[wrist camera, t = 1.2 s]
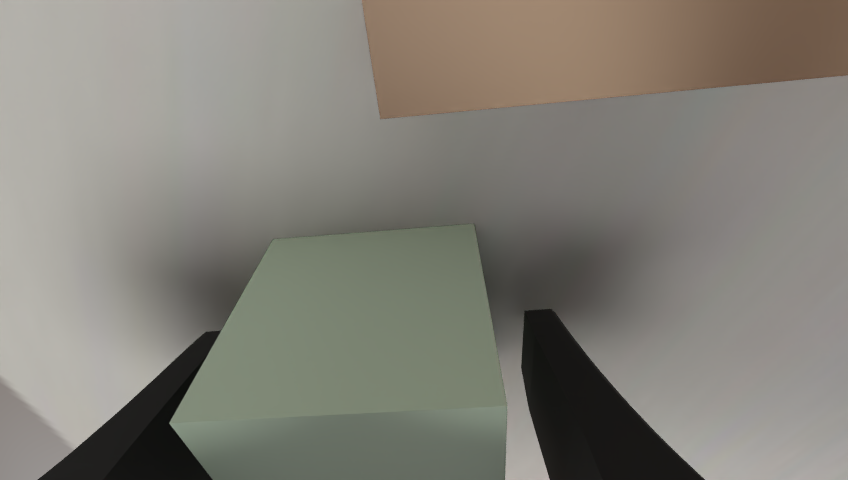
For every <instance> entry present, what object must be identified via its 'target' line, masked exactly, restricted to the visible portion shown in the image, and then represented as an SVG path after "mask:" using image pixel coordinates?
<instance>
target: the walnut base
mask: <svg viewBox="0 0 848 480" xmlns="http://www.w3.org/2000/svg"><path fill="white" fill-rule="evenodd" d="M362 4H363V11H364V17H365V24H366V30H367V36H368V43H369V49H370V56H371V62H372V68H373V75H374V81H375V88H376V94H377V100H378V107H379V113H380V119H386V118H397V117H407V116H418V115H429V114H439V113H450V112H461V111H471V110H482V109H493V108H503V107H514V106H525V105H535V104H546V103H556V102H567V101H578V100H588V99H599V98H610V97H620V96H631V95H642V94H652V93H663V92H674V91H684V90H695V89H705V88H716V87H727V86H737V85H748V84H759V83H769V82H780V81H791V80H801V79H812V78H823V77H833V76H844V75H848V0H362Z"/></svg>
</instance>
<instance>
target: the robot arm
mask: <svg viewBox="0 0 848 480" xmlns="http://www.w3.org/2000/svg"><path fill="white" fill-rule="evenodd" d="M220 332H221V331H212V332H205V333H204V334H203V335H202V336H201V337H200V338H198V339H197V340H196V341H195V342H194V343H193V344H192V345H190V346H189V347H188V348H187V349H186V350H185V351H184V352H183V353H182V354H181V355H180V356H179V357H177V358H176V359H175V360H174V361H173V362H172V363H171V364H170V365H169V366H168V367H167V368H166V369H165V370H164V371H162V372H161V373H160V374H159V375H158V376H157V377H156V378H155V379H154V380H153V381H152V382H151V383H149V384H148V385H147V386H146V387H145V388H144V389H143V390H142V391H141V392H140V393H139V394H138V395H136V396H135V397H134V398H133V399H132V400H131V401H130V402H129V403H128V404H127V405H126V406H124V407H123V408H122V409H121V410H120V411H119V412H118V413H117V414H115V415H114V416H113V417H112V418H111V419H110V420H108V421H107V422H106V423H105V424H104V425H103V426H102V427H100V428H99V429H98V430H97V431H96V432H95V433H93V434H92V435H91V436H90V437H89V438H88V439H87V440H85V441H84V442H83V443H82V444H81V445H80V446H78V447H77V448H76V449H75V450H74V451H73V452H71V453H70V454H69V455H68V456H67V457H65V458H64V459H63V460H62V461H61V462H59V463H58V464H57V465H56V466H54V467H53V468H52V469H51V470H49V471H48V472H47V473H46V474H44V475H43V476H42V477H40V478H39V479H38V480H213V479H212V478H211V477H210V476H209V474H208V473H207V472H206V470H205V469H204V468H203V466H202V465H201V464H200V463H199V461H198V460H197V459H196V457H195V456H194V455H193V454H192V452H191V451H190V450H189V448H188V447H187V446H186V444H185V443H184V442H183V441H182V439H181V438H180V437H179V435H178V434H177V433H176V431H175V430H174V429H173V428H172V426H171V425H170V424H169V423H170V421H171V419H172V417H173V416H174V414H175V412H176V410H177V408H178V407H179V405H180V403H181V401H182V400H183V398H184V396H185V394H186V393H187V391H188V389H189V387H190V385H191V384H192V382H193V380H194V378H195V377H196V375H197V373H198V371H199V369H200V368H201V366H202V364H203V362H204V361H205V359H206V357H207V355H208V354H209V352H210V350H211V348H212V346H213V345H214V343H215V341H216V339H217V338H218V336H219V334H220ZM521 368H522V374H523V379H524V385H525V390H526V396H527V401H528V406H529V411H530V414H531V417H532V421H533V424H534V428H535V431H536V435H537V438H538V441H539V445H540V448H541V452H542V455H543V458H544V462H545V465H546V468H547V472H548V475H549V478H550V480H705V479H704V478H703V477H701V476H700V475H699V474H698V473H697V472H696V471H695V470H694V469H693V468H692V467H691V466H690V465H689V464H688V463H687V462H686V461H684V460H683V459H682V458H681V457H680V456H679V455H678V454H677V453H676V452H675V451H674V450H673V449H672V448H671V447H670V446H669V445H668V444H667V443H666V442H665V441H664V440H663V439H662V438H661V437H660V436H659V435H658V434H657V433H656V432H655V431H654V430H653V429H652V428H651V427H650V426H649V425H648V424H647V423H646V422H645V421H644V420H643V419H642V417H641V416H640V415H639V414H638V413H637V412H636V411H635V410H634V409H633V408H632V407H631V406H630V405H629V404H628V402H627V401H626V400H625V399H624V398H623V397H622V396H621V395H620V394H619V392H618V391H617V390H616V389H615V388H614V387H613V386H612V384H611V383H610V382H609V381H608V380H607V379H606V377H605V376H604V375H603V374H602V373H601V372H600V370H599V369H598V368H597V367H596V366H595V364H594V363H593V362H592V361H591V360H590V358H589V357H588V356H587V355H586V353H585V352H584V351H583V349H582V348H581V347H580V346H579V344H578V343H577V342H576V341H575V339H574V338H573V337H572V335H571V334H570V333H569V331H568V330H567V329H566V327H565V326H564V324H563V323H562V322H561V320H560V319H559V317H558V316H557V315H556V313H555V312H554V311H553V310H551V309H544V310H529V311H525V314H524V331H523V348H522V365H521Z"/></svg>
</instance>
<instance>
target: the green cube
mask: <svg viewBox="0 0 848 480" xmlns="http://www.w3.org/2000/svg"><path fill="white" fill-rule="evenodd" d="M169 424H170V425H171V426H172V428H173V429H174V430H175V431H176V433H177V434H178V435H179V437H180V438H181V439H182V441H183V442H184V443H185V444H186V446H187V447H188V448H189V450H190V451H191V452H192V454H193V455H194V456H195V457H196V459H197V460H198V461H199V463H200V464H201V465H202V466H203V468H204V469H205V470H206V472H207V473H208V474H209V476H210V477H211V478H212V479H213V480H505V463H506V431H507V402H506V396H505V391H504V385H503V380H502V374H501V369H500V363H499V358H498V352H497V347H496V341H495V336H494V330H493V325H492V319H491V314H490V308H489V303H488V297H487V292H486V286H485V281H484V275H483V270H482V264H481V259H480V253H479V248H478V242H477V237H476V232H475V226H474V224H463V225H450V226H437V227H424V228H411V229H398V230H386V231H373V232H360V233H347V234H334V235H321V236H308V237H295V238H282V239H273V240H272V242H271V244H270V245H269V247H268V249H267V251H266V253H265V254H264V256H263V258H262V260H261V261H260V263H259V265H258V267H257V269H256V270H255V272H254V274H253V276H252V277H251V279H250V281H249V283H248V284H247V286H246V288H245V290H244V292H243V293H242V295H241V297H240V299H239V300H238V302H237V304H236V306H235V307H234V309H233V311H232V313H231V315H230V316H229V318H228V320H227V322H226V323H225V325H224V327H223V329H222V331H221V332H220V334H219V336H218V338H217V339H216V341H215V343H214V345H213V346H212V348H211V350H210V352H209V354H208V355H207V357H206V359H205V361H204V362H203V364H202V366H201V368H200V369H199V371H198V373H197V375H196V377H195V378H194V380H193V382H192V384H191V385H190V387H189V389H188V391H187V393H186V394H185V396H184V398H183V400H182V401H181V403H180V405H179V407H178V408H177V410H176V412H175V414H174V416H173V417H172V419H171V421H170V423H169Z"/></svg>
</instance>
